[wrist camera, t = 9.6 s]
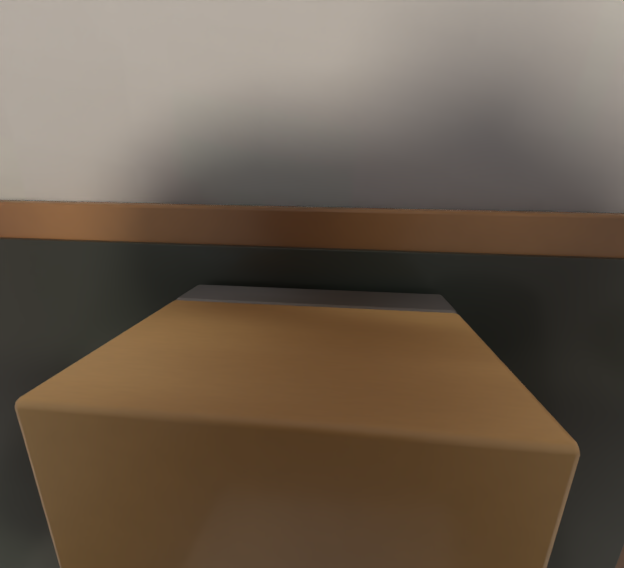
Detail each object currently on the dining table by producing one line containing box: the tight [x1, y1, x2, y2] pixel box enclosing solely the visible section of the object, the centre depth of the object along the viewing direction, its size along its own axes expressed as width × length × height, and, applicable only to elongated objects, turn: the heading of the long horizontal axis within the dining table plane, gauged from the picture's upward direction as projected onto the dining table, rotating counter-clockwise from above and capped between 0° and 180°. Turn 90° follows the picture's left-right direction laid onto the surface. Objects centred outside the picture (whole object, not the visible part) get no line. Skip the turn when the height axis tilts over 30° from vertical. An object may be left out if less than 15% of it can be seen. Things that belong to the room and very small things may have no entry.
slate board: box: [0, 200, 624, 568], centre depth 9 cm, size 20×14×1 cm
